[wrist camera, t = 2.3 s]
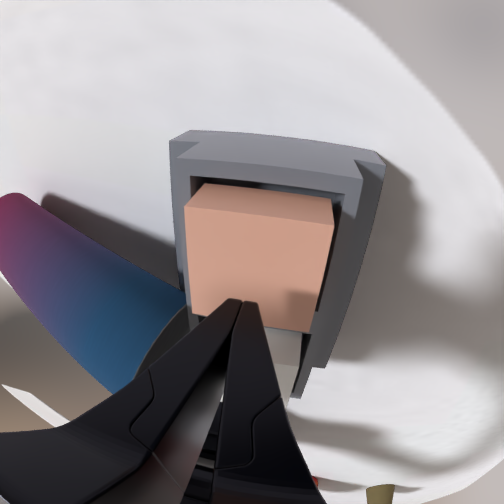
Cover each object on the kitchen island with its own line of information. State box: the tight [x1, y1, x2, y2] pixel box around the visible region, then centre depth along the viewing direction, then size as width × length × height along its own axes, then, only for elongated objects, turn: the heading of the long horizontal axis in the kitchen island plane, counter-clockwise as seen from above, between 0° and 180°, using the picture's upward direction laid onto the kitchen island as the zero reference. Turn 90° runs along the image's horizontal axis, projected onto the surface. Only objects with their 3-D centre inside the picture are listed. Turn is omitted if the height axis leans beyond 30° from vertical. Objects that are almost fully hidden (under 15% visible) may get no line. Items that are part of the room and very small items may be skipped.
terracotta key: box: [184, 183, 334, 332], centre depth 11 cm, size 4×4×2 cm
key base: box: [169, 130, 386, 399], centre depth 15 cm, size 13×9×5 cm
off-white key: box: [220, 327, 302, 410], centre depth 14 cm, size 4×4×2 cm
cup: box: [0, 193, 190, 394], centre depth 15 cm, size 7×7×15 cm
